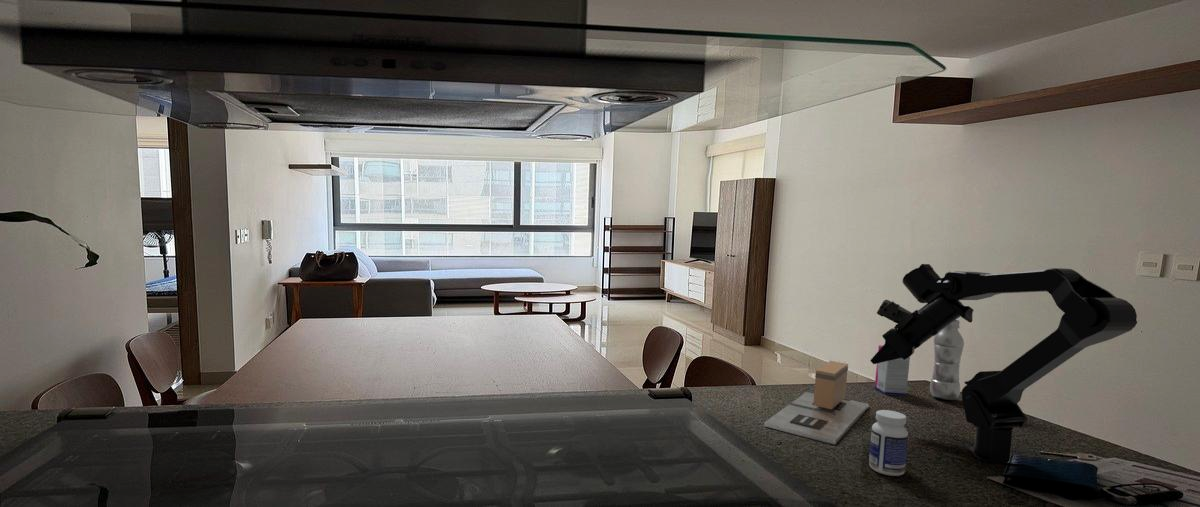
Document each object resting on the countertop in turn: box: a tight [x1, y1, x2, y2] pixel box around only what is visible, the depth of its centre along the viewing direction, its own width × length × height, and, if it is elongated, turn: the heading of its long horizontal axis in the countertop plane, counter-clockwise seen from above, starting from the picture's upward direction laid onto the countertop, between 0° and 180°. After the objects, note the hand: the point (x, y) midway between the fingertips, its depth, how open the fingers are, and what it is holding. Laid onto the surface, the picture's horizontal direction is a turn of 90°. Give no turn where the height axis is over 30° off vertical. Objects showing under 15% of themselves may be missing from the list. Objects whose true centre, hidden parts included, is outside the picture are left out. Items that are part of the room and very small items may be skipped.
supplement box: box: [874, 344, 911, 396], centre depth 150 cm, size 6×6×12 cm
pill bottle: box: [868, 409, 909, 477], centre depth 101 cm, size 6×6×10 cm
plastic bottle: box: [929, 319, 965, 401], centre depth 145 cm, size 6×7×20 cm
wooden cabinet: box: [813, 360, 849, 409], centre depth 134 cm, size 4×12×8 cm, turn 144°
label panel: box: [763, 389, 870, 446], centre depth 128 cm, size 14×30×1 cm, turn 144°
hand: (872, 362), depth 129 cm, fingers closed
